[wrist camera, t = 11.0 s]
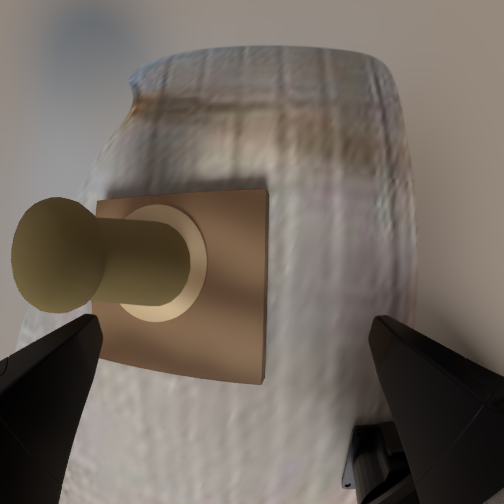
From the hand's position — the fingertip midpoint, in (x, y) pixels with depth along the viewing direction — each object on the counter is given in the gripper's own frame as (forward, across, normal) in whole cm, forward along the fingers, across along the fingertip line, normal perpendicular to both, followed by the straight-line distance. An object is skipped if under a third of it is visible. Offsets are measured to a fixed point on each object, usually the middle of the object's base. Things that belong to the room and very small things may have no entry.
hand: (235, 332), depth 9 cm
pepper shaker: (+12, +6, +3) cm, 13 cm away
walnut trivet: (+12, +5, +5) cm, 14 cm away
